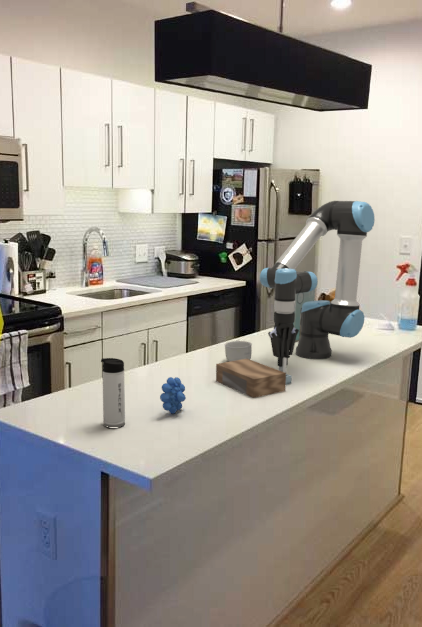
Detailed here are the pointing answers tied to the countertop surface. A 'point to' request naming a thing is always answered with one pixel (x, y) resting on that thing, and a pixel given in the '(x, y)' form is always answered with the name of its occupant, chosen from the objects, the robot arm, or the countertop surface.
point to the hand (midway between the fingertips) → (282, 374)
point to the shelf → (250, 377)
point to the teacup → (238, 350)
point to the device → (299, 301)
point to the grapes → (172, 395)
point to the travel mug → (113, 392)
